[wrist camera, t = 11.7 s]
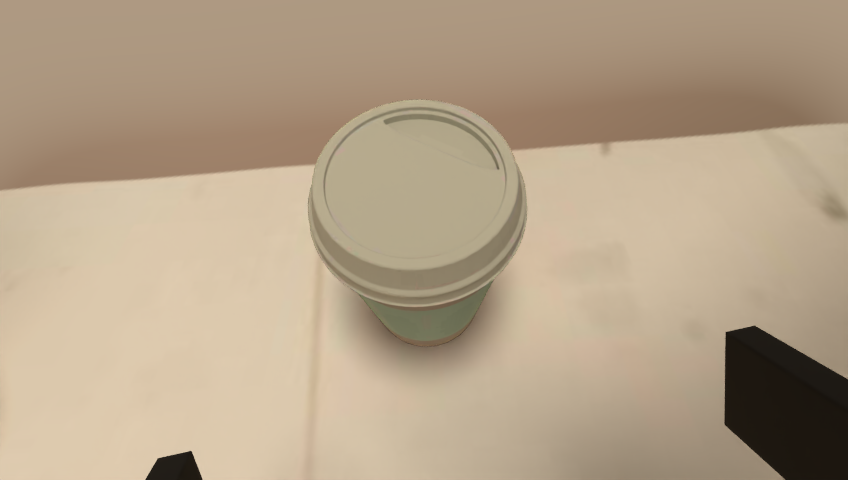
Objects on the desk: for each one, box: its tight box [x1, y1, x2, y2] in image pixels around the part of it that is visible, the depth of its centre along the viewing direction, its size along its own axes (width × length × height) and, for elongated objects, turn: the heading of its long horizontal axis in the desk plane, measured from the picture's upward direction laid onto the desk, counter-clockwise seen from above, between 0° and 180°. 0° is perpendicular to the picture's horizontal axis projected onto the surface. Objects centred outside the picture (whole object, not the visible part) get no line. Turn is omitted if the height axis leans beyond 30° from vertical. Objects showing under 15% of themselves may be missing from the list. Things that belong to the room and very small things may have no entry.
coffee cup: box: [308, 100, 527, 346], centre depth 22 cm, size 8×8×12 cm
